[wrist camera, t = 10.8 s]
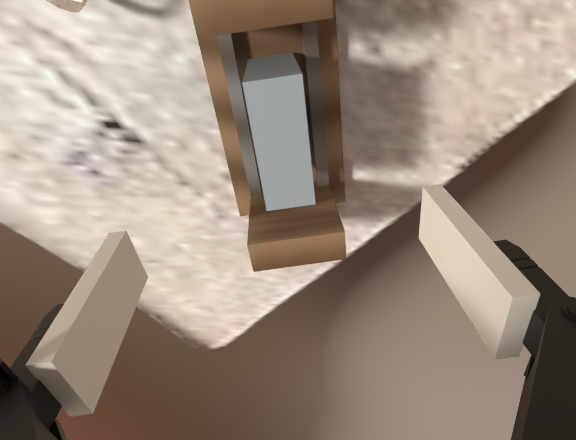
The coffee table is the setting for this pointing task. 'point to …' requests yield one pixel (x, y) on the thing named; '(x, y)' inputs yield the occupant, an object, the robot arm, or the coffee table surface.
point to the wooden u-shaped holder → (319, 109)
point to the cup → (69, 4)
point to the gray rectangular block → (279, 130)
